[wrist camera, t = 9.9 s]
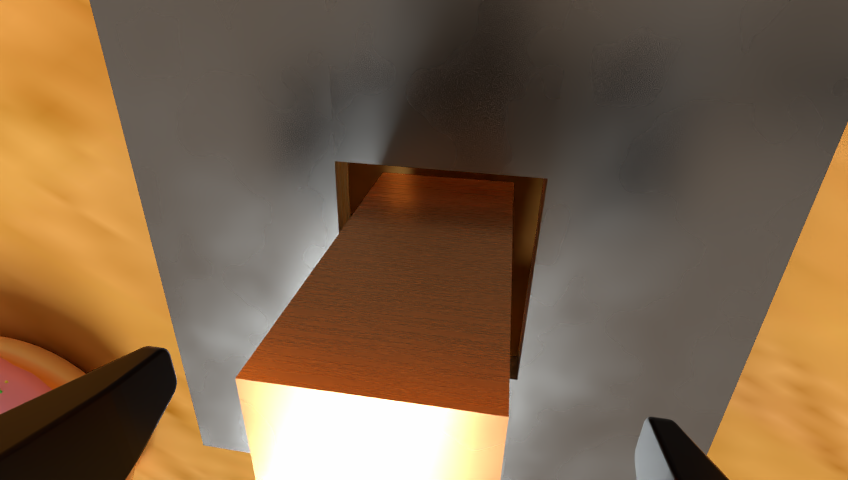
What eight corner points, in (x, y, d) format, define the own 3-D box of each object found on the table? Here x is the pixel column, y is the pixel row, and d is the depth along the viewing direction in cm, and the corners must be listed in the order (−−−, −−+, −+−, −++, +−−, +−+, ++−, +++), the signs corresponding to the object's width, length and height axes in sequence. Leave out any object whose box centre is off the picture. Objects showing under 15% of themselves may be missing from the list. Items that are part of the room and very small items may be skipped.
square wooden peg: (513, 164, 14) (509, 416, 6) (499, 294, 16) (481, 618, 8) (395, 155, 15) (234, 378, 6) (395, 283, 17) (276, 577, 8)
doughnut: (73, 507, 27) (4, 587, 24) (-100, 367, 24) (-210, 436, 20) (200, 453, 23) (141, 540, 20) (12, 275, 20) (-101, 341, 16)
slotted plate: (831, -66, 11) (933, -82, 8) (654, 446, 18) (676, 525, 16) (157, -77, 13) (66, -92, 10) (244, 385, 20) (203, 445, 18)
